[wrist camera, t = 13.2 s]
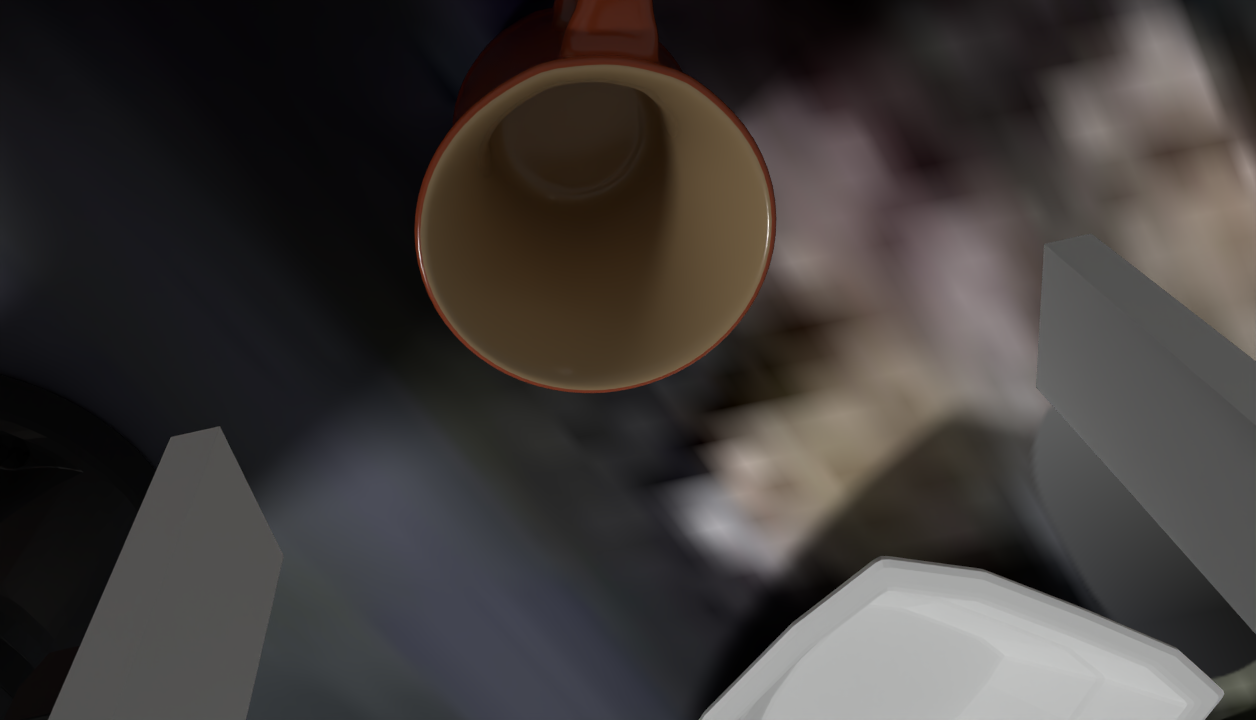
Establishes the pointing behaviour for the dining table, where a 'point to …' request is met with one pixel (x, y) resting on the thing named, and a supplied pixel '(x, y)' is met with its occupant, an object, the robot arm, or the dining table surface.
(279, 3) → the dining table surface
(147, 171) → the dining table surface
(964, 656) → the bowl
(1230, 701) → the dining table surface
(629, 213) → the mug
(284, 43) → the dining table surface
